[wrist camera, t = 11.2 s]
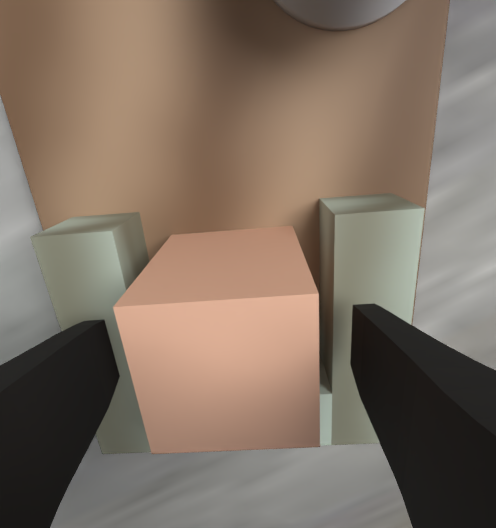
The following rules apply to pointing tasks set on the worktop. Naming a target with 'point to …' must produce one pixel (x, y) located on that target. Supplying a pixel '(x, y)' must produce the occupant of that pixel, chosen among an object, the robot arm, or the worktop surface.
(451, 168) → the worktop surface
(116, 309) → the block
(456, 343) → the worktop surface
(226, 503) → the worktop surface
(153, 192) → the notched board
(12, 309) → the worktop surface
